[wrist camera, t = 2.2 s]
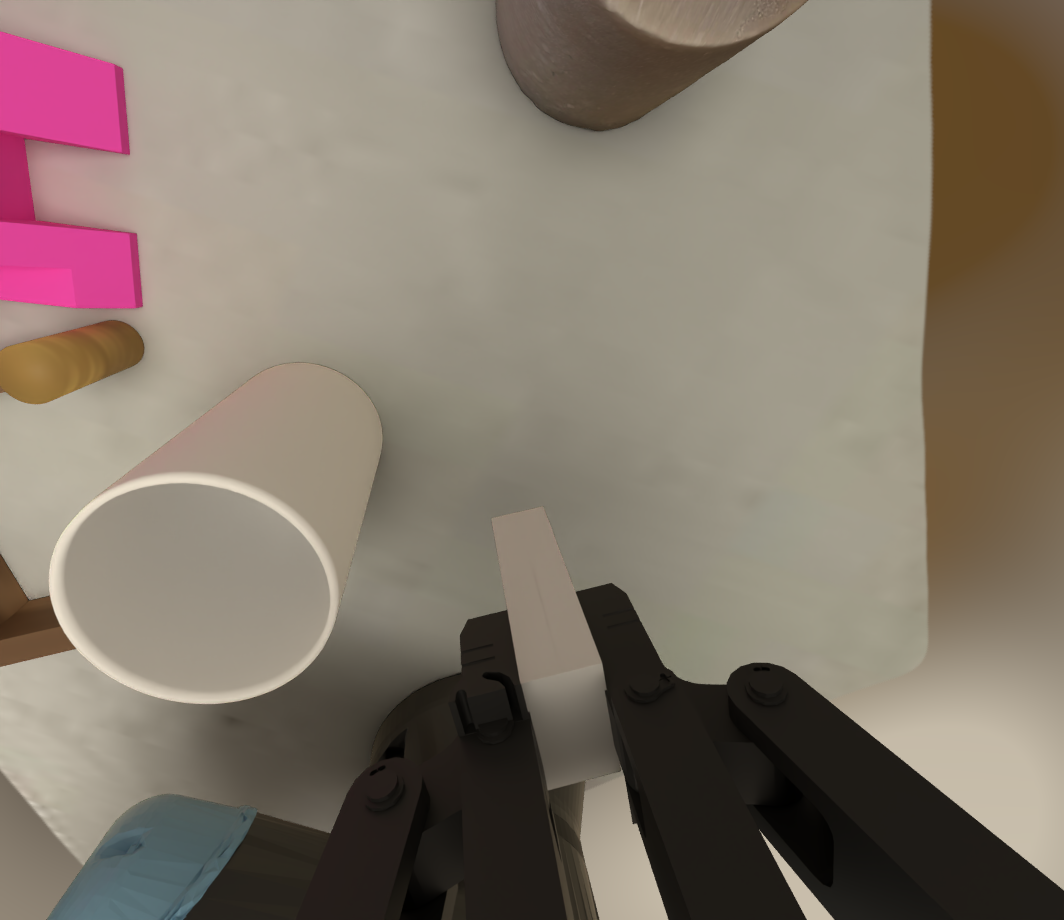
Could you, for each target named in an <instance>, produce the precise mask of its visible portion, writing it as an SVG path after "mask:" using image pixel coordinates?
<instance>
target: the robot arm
mask: <svg viewBox="0 0 1064 920" xmlns="http://www.w3.org/2000/svg"><path fill="white" fill-rule="evenodd" d="M491 520H492V526H493V532H494V537H495V543H496V549H497V554H498V560H499V565H500V571H501V577H502V582H503V588H504V594H505V599H506V605H507V610H505V611H501V612H497V613H493V614H489V615H485V616H481V617H477V618H473V619H468V620H467V622H466V624H465V626H464V628H463V630H462V632H461V634H460V647H461V665H462V674H460V675H456V676H452V677H448V678H445V679H442V680H439V681H437V682H434V683H432V684H430V685H428V686H426V687H424V688H422V689H420V690H418V691H417V692H415V693H414V694H412V695H411V696H409V697H408V698H406V699H405V700H404V701H403V702H401V703H400V704H399V705H398V706H397V707H396V708H395V709H394V710H393V711H392V712H391V713H390V715H389V716H388V717H387V718H386V720H385V721H384V722H383V724H382V726H381V727H380V729H379V731H378V733H377V735H376V738H375V741H374V744H373V747H372V753H371V761H370V767H369V768H367V769H366V770H365V771H364V772H363V773H362V774H361V775H360V776H359V777H358V778H357V779H356V780H355V781H354V783H353V785H352V786H351V788H350V790H349V791H348V793H347V795H346V798H345V800H344V803H343V805H342V807H341V810H340V812H339V815H338V817H337V820H336V822H335V824H334V827H333V829H332V832H331V833H327V832H324V831H320V830H317V829H313V828H310V827H306V826H303V825H299V824H296V823H292V822H289V821H285V820H282V819H278V818H275V817H271V816H268V815H264V814H261V813H257V809H256V808H252V807H250V806H240V807H238V808H235V807H231V806H226V805H222V804H217V803H213V802H208V801H204V800H199V799H195V798H190V797H186V796H181V795H174V794H164V795H158V796H154V797H151V798H148V799H146V800H144V801H141V802H139V803H138V804H136V805H134V806H133V807H131V808H130V809H128V810H127V811H126V812H125V813H123V814H122V815H121V816H120V817H119V818H118V819H117V820H116V821H115V823H114V824H113V825H112V826H111V828H110V829H109V830H108V832H107V833H106V835H105V836H104V837H103V839H102V840H101V842H100V843H99V845H98V846H97V847H96V849H95V850H94V852H93V853H92V855H91V856H90V858H89V859H88V860H87V862H86V863H85V865H84V866H83V868H82V869H81V871H80V872H79V873H78V875H77V876H76V878H75V879H74V881H73V882H72V883H71V885H70V886H69V888H68V889H67V891H66V892H65V894H64V895H63V896H62V898H61V899H60V901H59V902H58V904H57V905H56V907H55V908H54V910H53V911H52V912H51V914H50V915H49V917H48V918H47V919H46V920H599V916H598V912H597V908H596V904H595V900H594V896H593V892H592V888H591V884H590V880H589V876H588V872H587V868H586V865H585V860H584V856H583V852H582V846H581V842H580V832H581V821H582V810H583V800H584V789H585V780H589V779H593V778H597V777H600V776H604V775H608V774H612V773H615V772H619V771H621V768H620V764H621V767H622V770H623V773H624V776H625V781H626V787H627V792H628V799H629V804H630V810H631V815H632V822H633V824H635V823H637V825H638V828H639V831H640V834H641V837H642V840H643V843H644V846H645V849H646V852H647V855H648V858H649V861H650V864H651V868H652V871H653V874H654V877H655V880H656V883H657V886H658V889H659V892H660V895H661V898H662V901H663V904H664V907H665V910H666V913H667V916H668V919H669V920H807V919H806V918H805V916H804V914H803V912H802V910H801V908H800V906H799V904H798V902H797V901H796V899H795V897H794V895H793V893H792V891H791V889H790V887H789V886H788V884H787V882H786V880H785V878H784V876H783V874H782V872H781V870H780V869H779V867H778V865H777V863H776V861H775V859H774V857H773V855H772V853H771V851H770V850H769V848H768V846H767V844H766V842H765V840H764V838H763V836H762V834H761V833H760V831H761V832H762V833H763V835H764V836H765V837H766V838H767V839H768V841H769V842H770V843H771V844H772V845H773V847H774V848H775V849H776V850H777V851H778V853H779V854H780V855H781V856H782V857H783V859H784V860H785V861H786V862H787V863H788V865H789V866H790V867H791V868H792V869H793V871H794V872H795V873H796V874H797V875H798V876H799V878H800V879H801V880H802V881H803V882H804V884H805V885H806V886H807V887H808V888H809V890H810V891H811V892H812V893H813V894H814V896H815V897H816V898H817V899H818V900H819V902H820V903H821V904H822V905H823V906H824V908H825V909H826V910H827V911H828V912H829V914H830V915H831V916H832V917H833V918H834V920H1064V890H1062V889H1061V888H1060V887H1059V886H1058V885H1056V884H1055V883H1054V882H1053V881H1051V880H1050V879H1049V878H1048V877H1046V876H1045V875H1044V874H1043V873H1042V872H1040V871H1039V870H1038V869H1037V868H1035V867H1034V866H1033V865H1032V864H1030V863H1029V862H1028V861H1027V860H1025V859H1024V858H1023V857H1022V856H1020V855H1019V854H1018V853H1017V852H1015V851H1014V850H1013V849H1012V848H1011V847H1009V846H1008V845H1007V844H1006V843H1004V842H1003V841H1002V840H1001V839H999V838H998V837H997V836H995V835H994V834H993V833H992V832H991V831H989V830H988V829H987V828H986V827H984V826H983V825H982V824H981V823H979V822H978V821H977V820H976V819H975V818H973V817H972V816H971V815H969V814H968V813H967V812H966V811H965V810H963V809H962V808H961V807H959V806H958V805H957V804H956V803H955V802H953V801H952V800H951V799H950V798H948V797H947V796H946V795H945V794H943V793H942V792H941V791H940V790H938V789H937V788H936V787H935V786H934V785H932V784H931V783H930V782H929V781H927V780H926V779H925V778H924V777H922V776H921V775H920V774H919V773H917V772H916V771H915V770H914V769H912V768H911V767H910V766H909V765H908V764H906V763H905V762H904V761H903V760H901V759H900V758H899V757H898V756H896V755H895V754H894V753H893V752H891V751H890V750H889V749H888V748H886V747H885V746H884V745H883V744H881V743H880V742H879V741H878V740H876V739H875V738H874V737H873V736H871V735H870V734H869V733H868V732H867V731H865V730H864V729H863V728H861V727H860V726H859V725H858V724H857V723H855V722H854V721H853V720H852V719H850V718H849V717H848V716H847V715H845V714H844V713H843V712H842V711H840V710H839V709H838V708H837V707H836V706H834V705H833V704H832V703H831V702H829V701H828V700H827V699H826V698H824V697H823V696H822V695H821V694H819V693H818V692H817V691H816V690H814V689H813V688H812V687H811V686H809V685H808V684H807V683H806V682H805V681H803V680H802V679H801V678H800V677H798V676H797V675H796V674H794V673H793V672H791V671H789V670H787V669H786V668H784V667H782V666H778V665H774V664H770V663H751V664H748V665H744V666H741V667H739V668H738V669H737V670H735V671H734V672H733V673H731V675H730V677H729V679H728V681H727V685H710V684H696V683H691V682H688V681H684V680H682V679H680V678H678V677H677V676H676V675H675V674H674V673H673V672H672V671H671V670H669V669H667V668H665V666H664V665H663V663H662V662H661V660H660V658H659V656H658V654H657V652H656V650H655V648H654V646H653V644H652V642H651V640H650V638H649V636H648V635H647V633H646V631H645V629H644V627H643V625H642V623H641V621H640V620H639V617H638V615H637V613H636V611H635V610H634V608H633V605H632V603H631V602H630V600H629V598H628V596H627V594H626V593H625V592H624V591H622V590H621V589H619V588H618V587H617V586H615V585H614V584H612V583H610V584H606V585H602V586H597V587H593V588H589V589H585V590H581V591H577V592H575V589H574V587H573V584H572V581H571V579H570V576H569V573H568V571H567V568H566V565H565V563H564V560H563V557H562V555H561V552H560V549H559V547H558V544H557V542H556V539H555V536H554V534H553V531H552V528H551V526H550V523H549V520H548V518H547V515H546V512H545V510H544V507H543V506H542V507H537V508H533V509H529V510H525V511H520V512H516V513H512V514H507V515H503V516H499V517H495V518H491ZM619 761H620V762H619ZM759 830H760V831H759Z"/></svg>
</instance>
